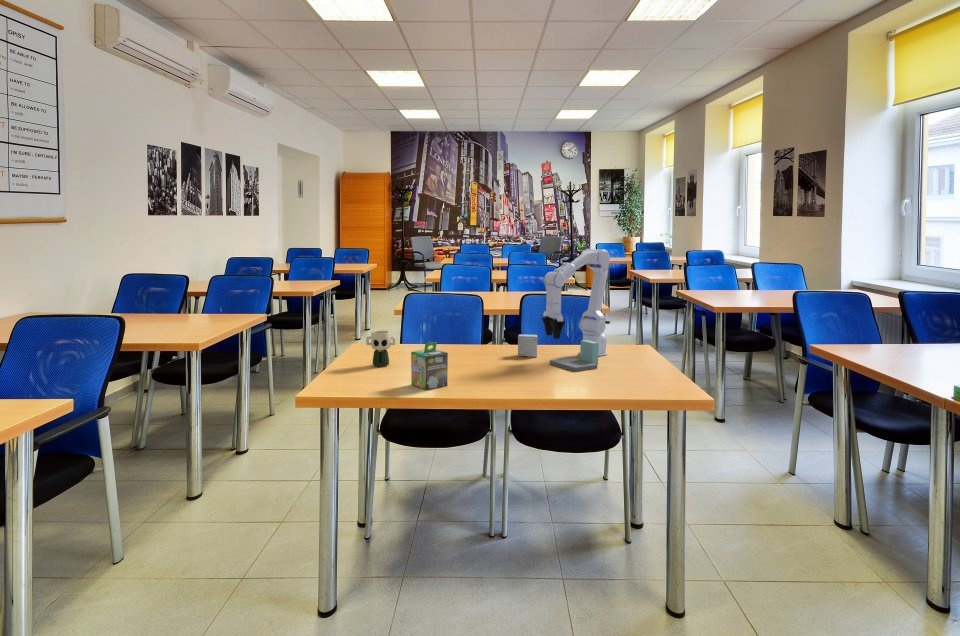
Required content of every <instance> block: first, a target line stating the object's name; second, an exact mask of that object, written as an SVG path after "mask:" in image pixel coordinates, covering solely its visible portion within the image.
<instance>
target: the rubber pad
mask: <svg viewBox="0 0 960 636" xmlns="http://www.w3.org/2000/svg"><path fill="white" fill-rule="evenodd" d="M549 365H552V366H556V367H559V368H561V369H565V370H567V371H572V372H574V371H575V373H576V371H577V372H583V371H589V369H590V370H596V369H595V368H597V369H598V366H597V364H593V363H590V362H586V361H583V360H580V358H574V357H564V358H557V359H550V360H549ZM582 370H583V371H582Z"/></svg>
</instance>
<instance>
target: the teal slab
mask: <svg viewBox="0 0 960 636" xmlns="http://www.w3.org/2000/svg"><path fill="white" fill-rule="evenodd" d="M598 350H599V343H598V342H594V341H589V340H583V339H581V340H580V351H579V352H580V354H579V356H580V357H579V360H583V361H586V362H590V363H593V364H597V365H598V366H599V356H598Z"/></svg>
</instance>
